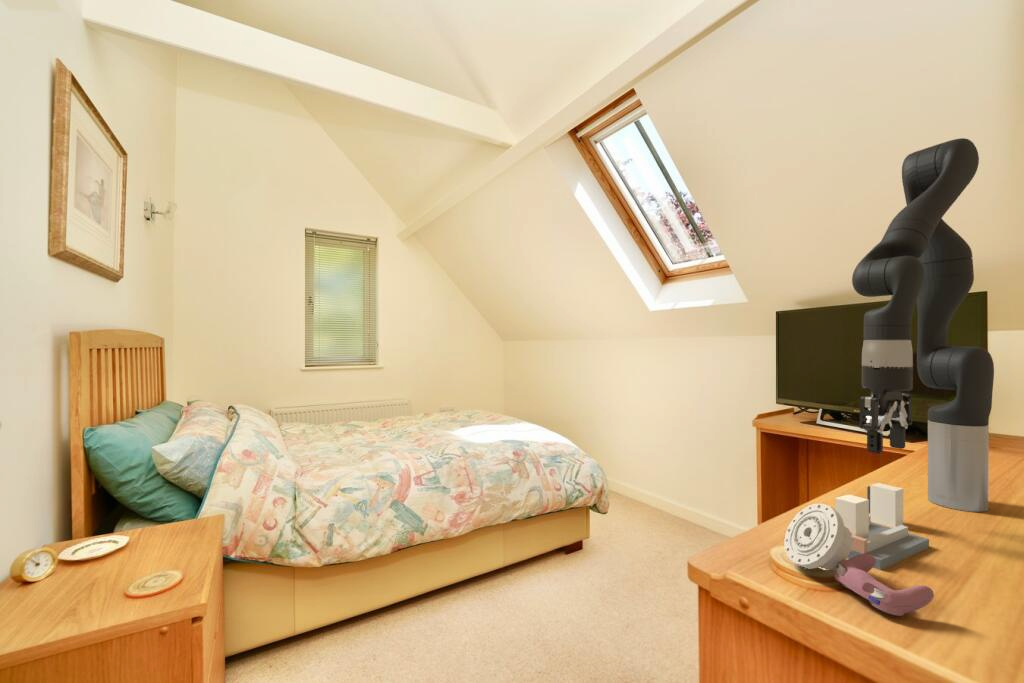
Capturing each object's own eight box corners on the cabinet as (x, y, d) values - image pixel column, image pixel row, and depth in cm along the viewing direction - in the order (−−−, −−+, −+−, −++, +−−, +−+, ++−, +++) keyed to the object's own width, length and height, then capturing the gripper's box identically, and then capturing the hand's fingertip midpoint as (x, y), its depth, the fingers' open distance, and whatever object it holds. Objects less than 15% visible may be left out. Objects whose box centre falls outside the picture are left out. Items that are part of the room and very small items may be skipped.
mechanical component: (776, 527, 76) (822, 490, 72) (799, 542, 76) (847, 506, 72) (791, 576, 68) (845, 536, 63) (818, 593, 67) (874, 555, 63)
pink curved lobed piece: (866, 583, 67) (821, 578, 66) (871, 552, 67) (825, 547, 66) (934, 627, 57) (881, 621, 56) (940, 590, 57) (887, 584, 56)
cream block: (903, 526, 86) (903, 488, 86) (895, 529, 85) (895, 491, 85) (874, 518, 91) (874, 482, 91) (866, 520, 89) (866, 484, 89)
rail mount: (854, 525, 87) (854, 479, 87) (929, 548, 77) (929, 496, 77) (804, 542, 79) (804, 492, 79) (880, 570, 70) (880, 513, 70)
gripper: (882, 362, 94) (881, 442, 94) (844, 364, 88) (843, 450, 87) (929, 364, 88) (928, 450, 88) (891, 365, 81) (891, 459, 81)
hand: (886, 450), depth 88 cm, fingers open, 8 cm apart
